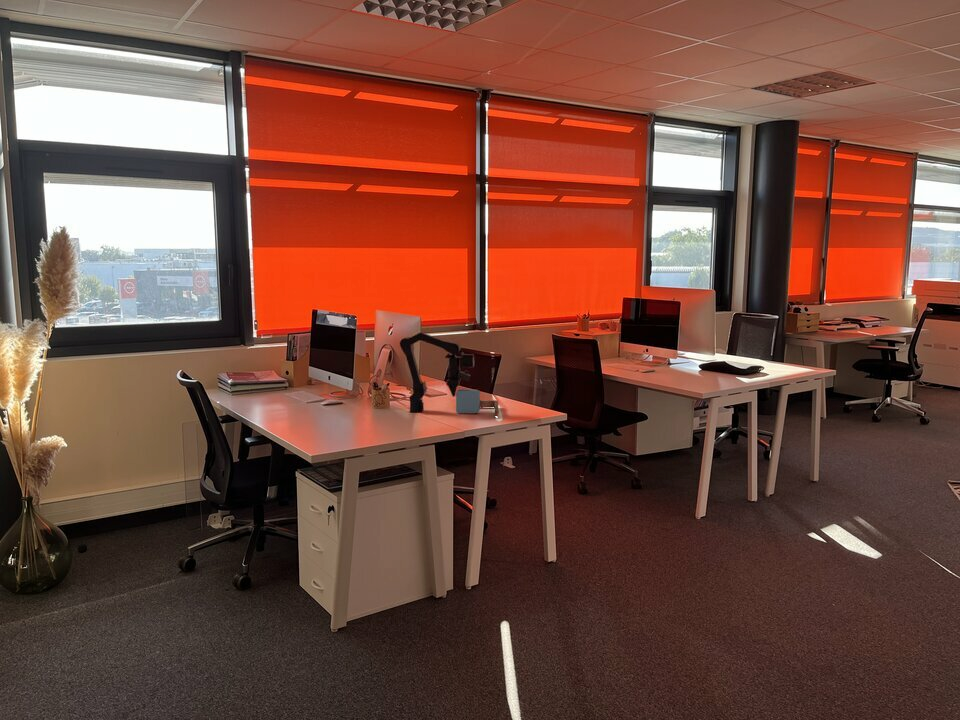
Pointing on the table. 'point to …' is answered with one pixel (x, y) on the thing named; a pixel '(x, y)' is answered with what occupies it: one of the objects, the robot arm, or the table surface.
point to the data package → (467, 401)
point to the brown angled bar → (490, 405)
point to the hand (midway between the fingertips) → (453, 396)
